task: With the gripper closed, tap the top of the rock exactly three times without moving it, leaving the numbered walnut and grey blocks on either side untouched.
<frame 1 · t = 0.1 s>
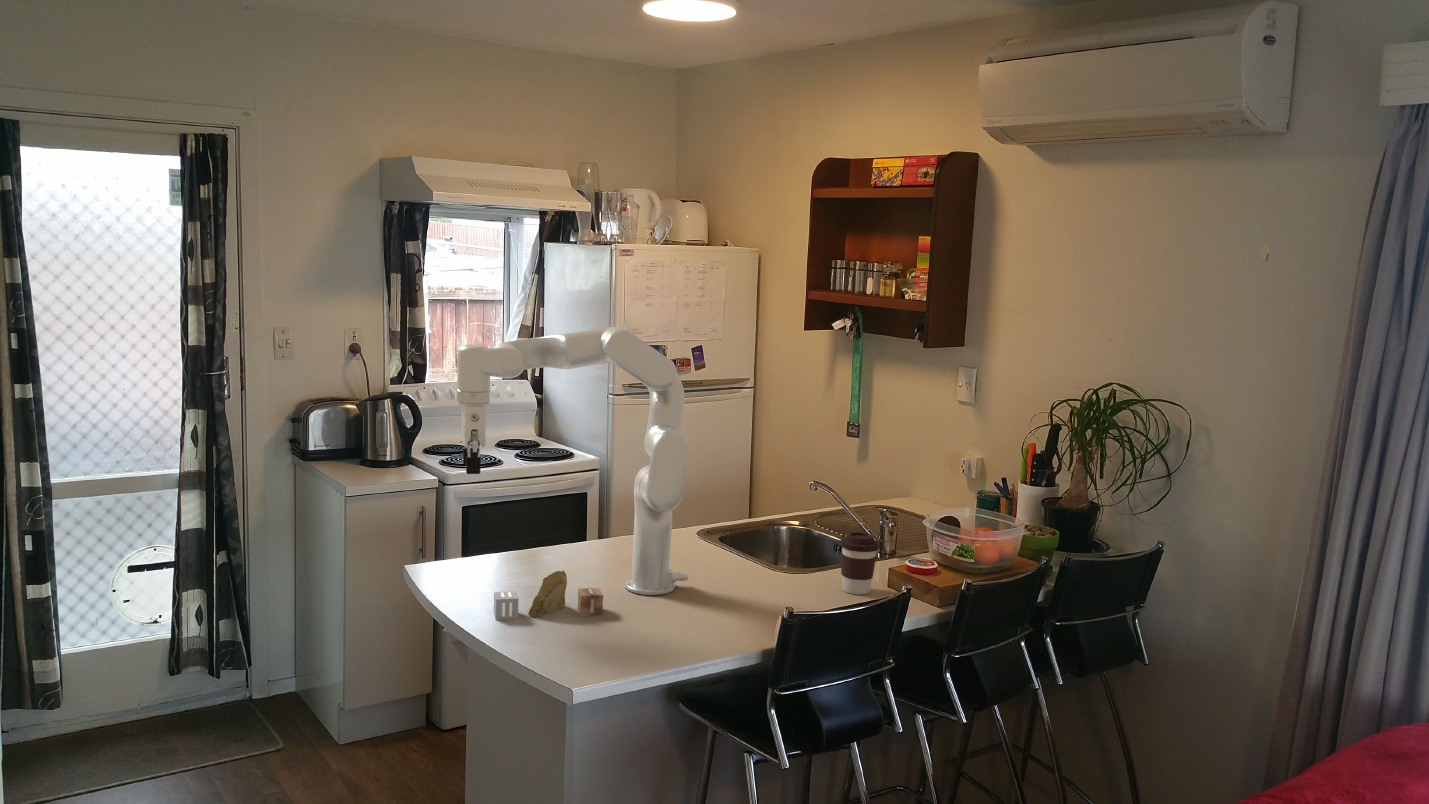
hand: (471, 469, 246), 31 cm above the countertop, tool pointing down, fingers open, 9 cm apart
grey block 11: (505, 616, 238), on the countertop
coffee cup: (855, 591, 270), on the countertop
rock: (546, 611, 243), on the countertop
walnut block 1: (589, 612, 244), on the countertop
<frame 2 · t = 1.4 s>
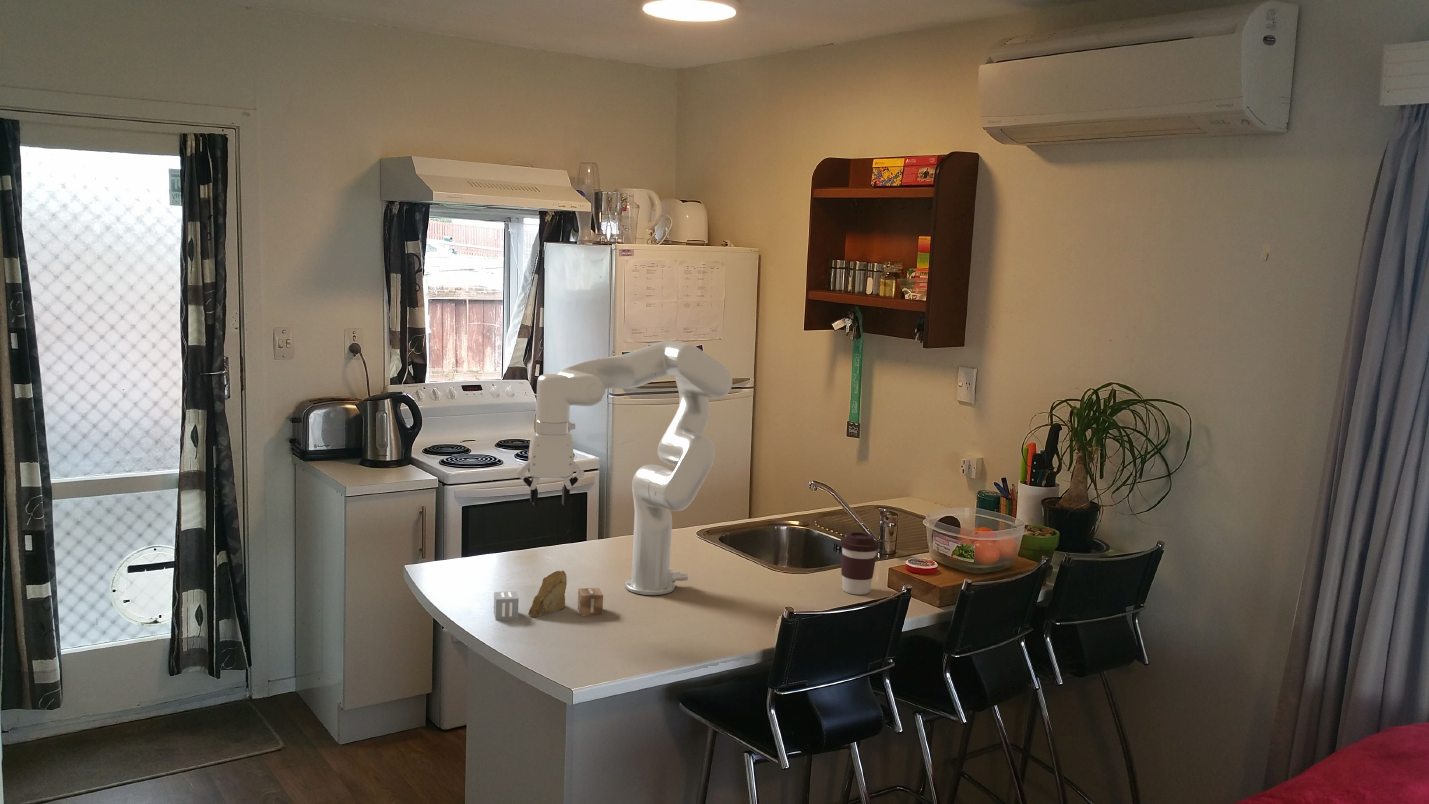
hand: (549, 504, 239), 26 cm above the countertop, tool pointing down, fingers open, 6 cm apart
nothing on the countertop moved.
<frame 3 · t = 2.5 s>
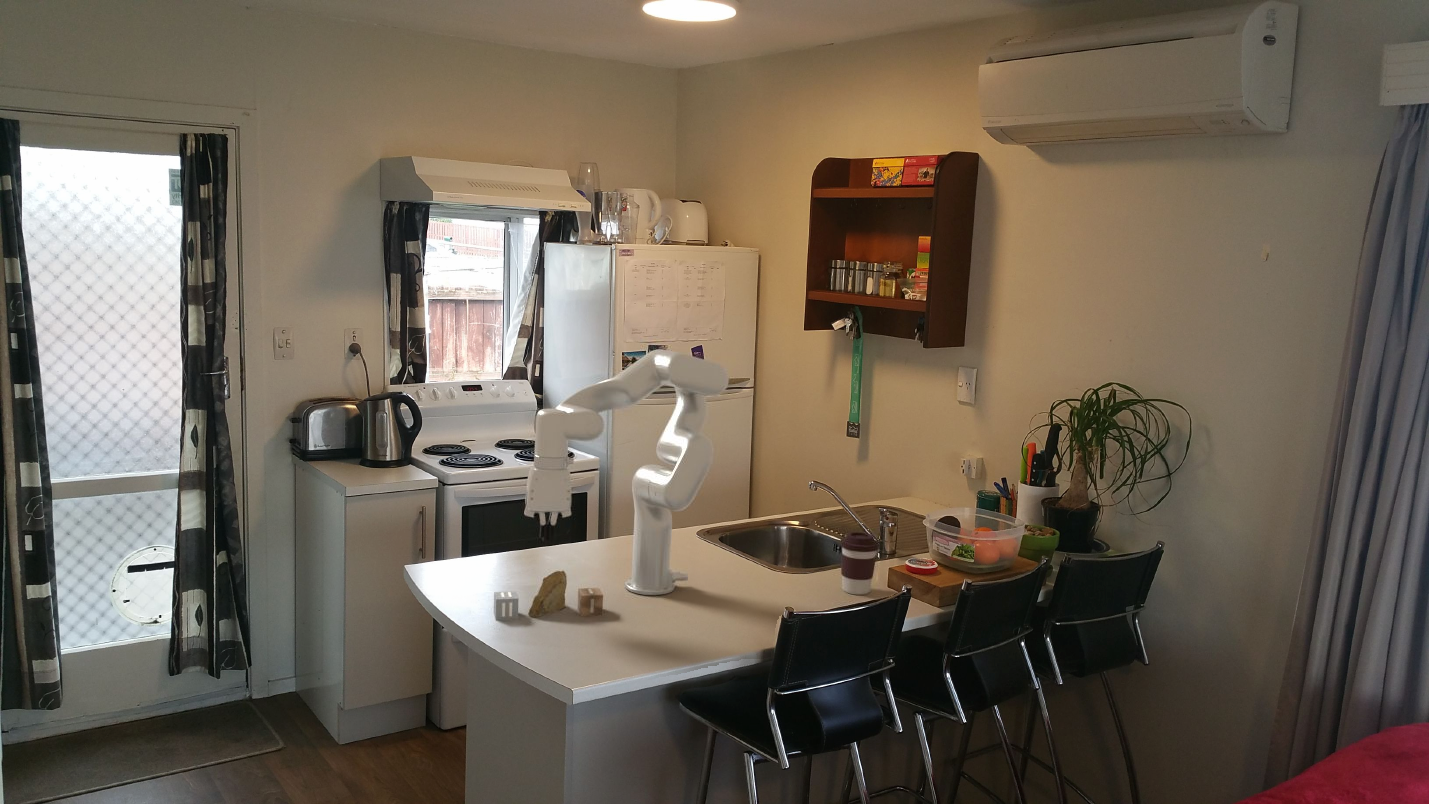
hand: (546, 540, 240), 17 cm above the countertop, tool pointing down, fingers closed
nothing on the countertop moved.
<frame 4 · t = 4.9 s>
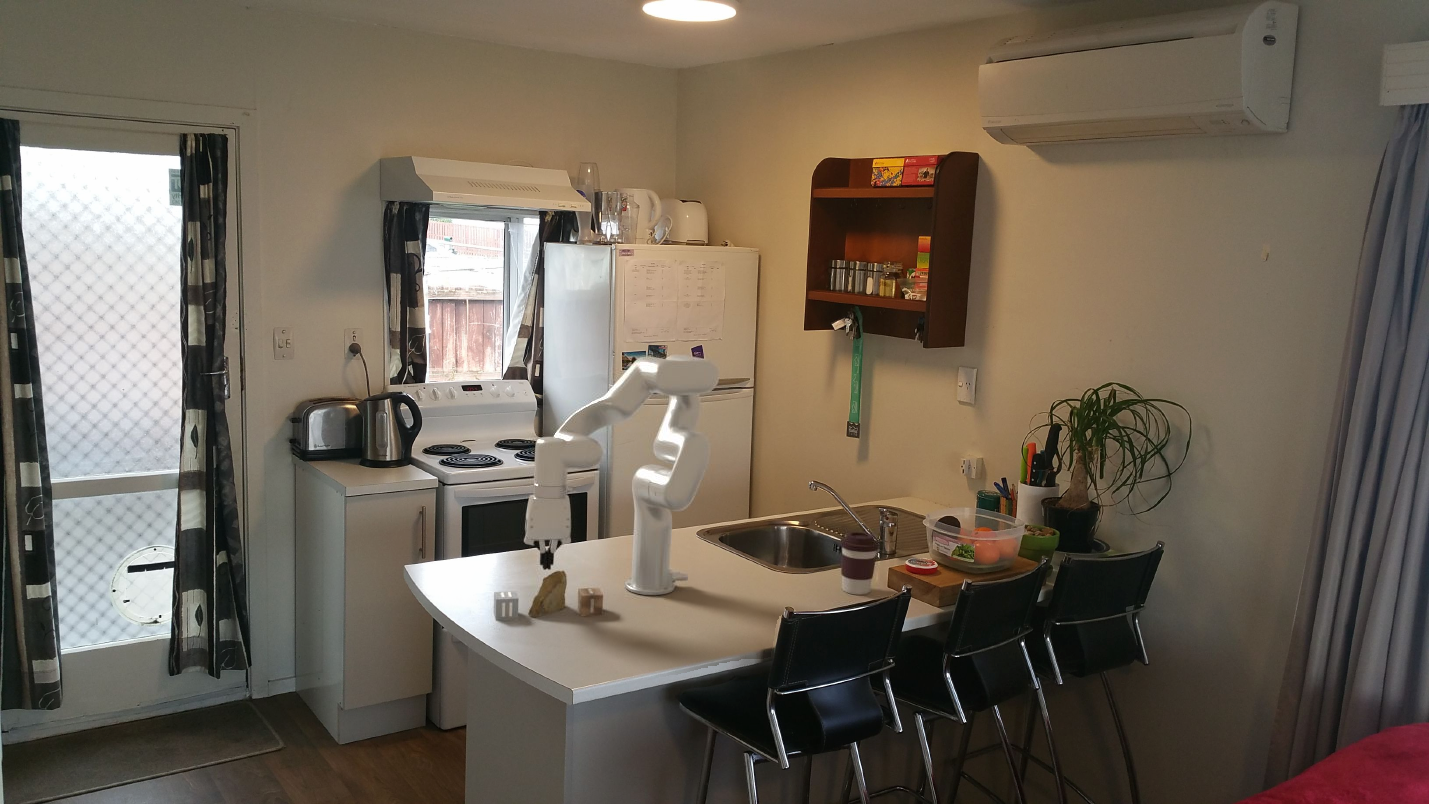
hand: (546, 567, 241), 10 cm above the countertop, tool pointing down, fingers closed
nothing on the countertop moved.
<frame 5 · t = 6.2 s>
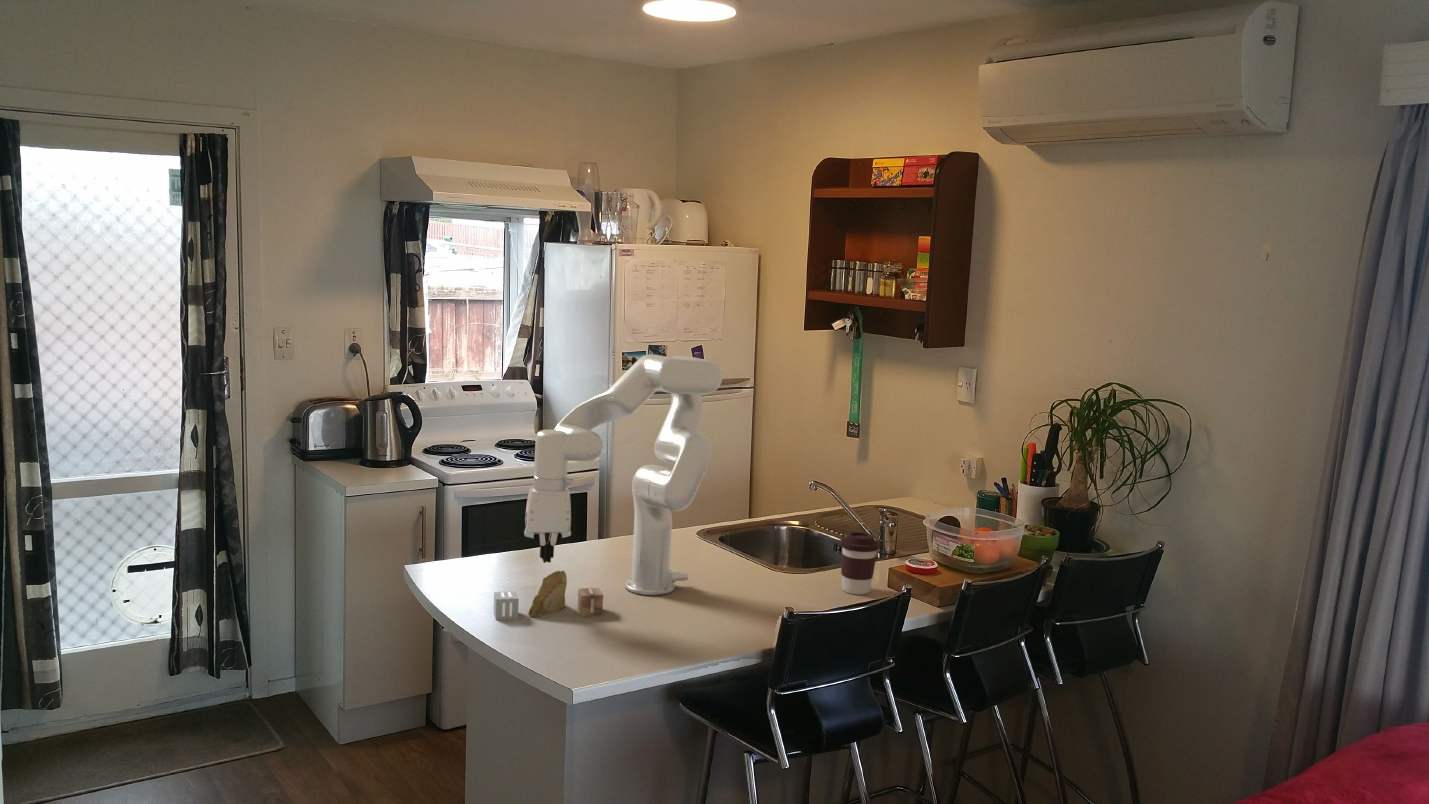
hand: (546, 560, 241), 12 cm above the countertop, tool pointing down, fingers closed
nothing on the countertop moved.
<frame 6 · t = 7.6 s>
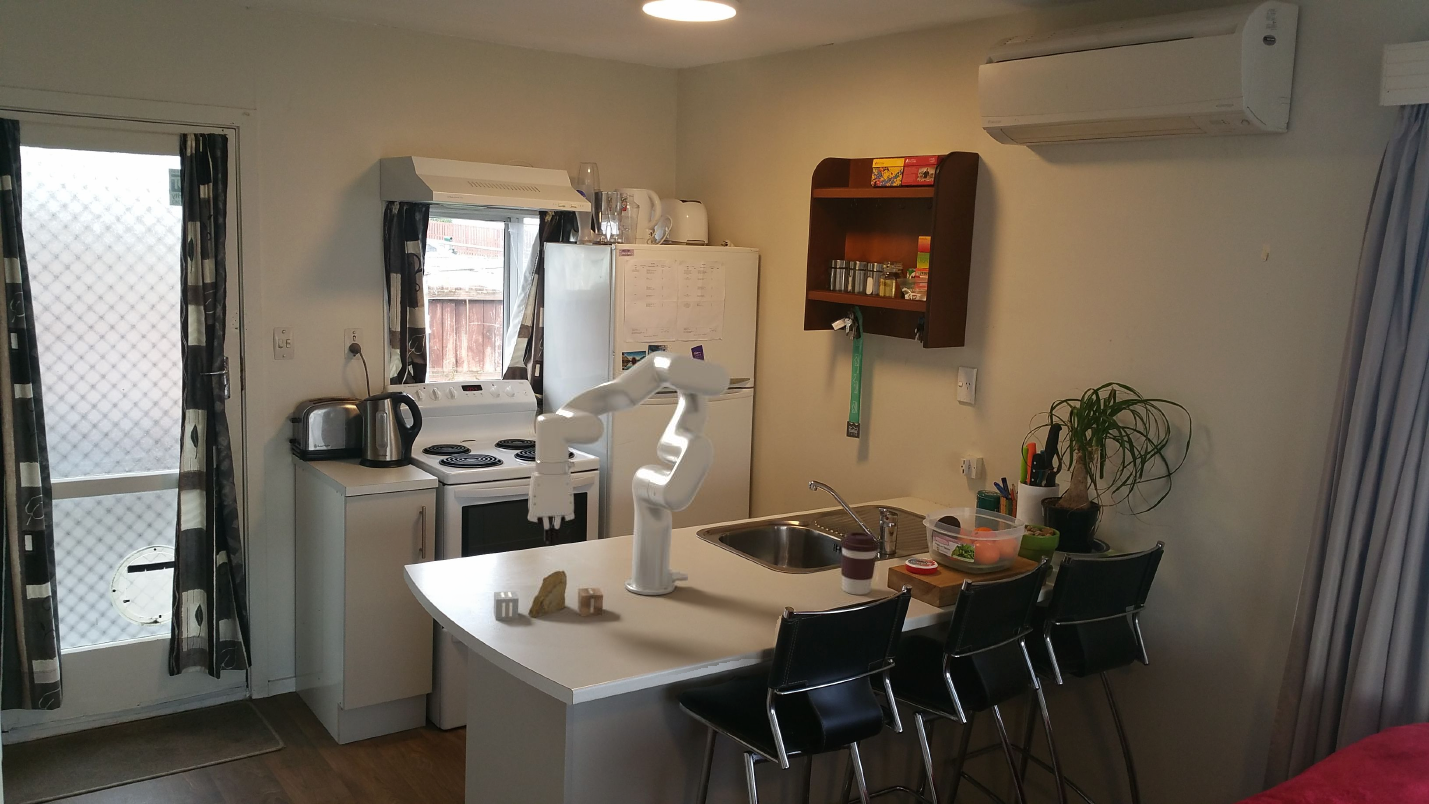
hand: (550, 543, 242), 16 cm above the countertop, tool pointing down, fingers closed
nothing on the countertop moved.
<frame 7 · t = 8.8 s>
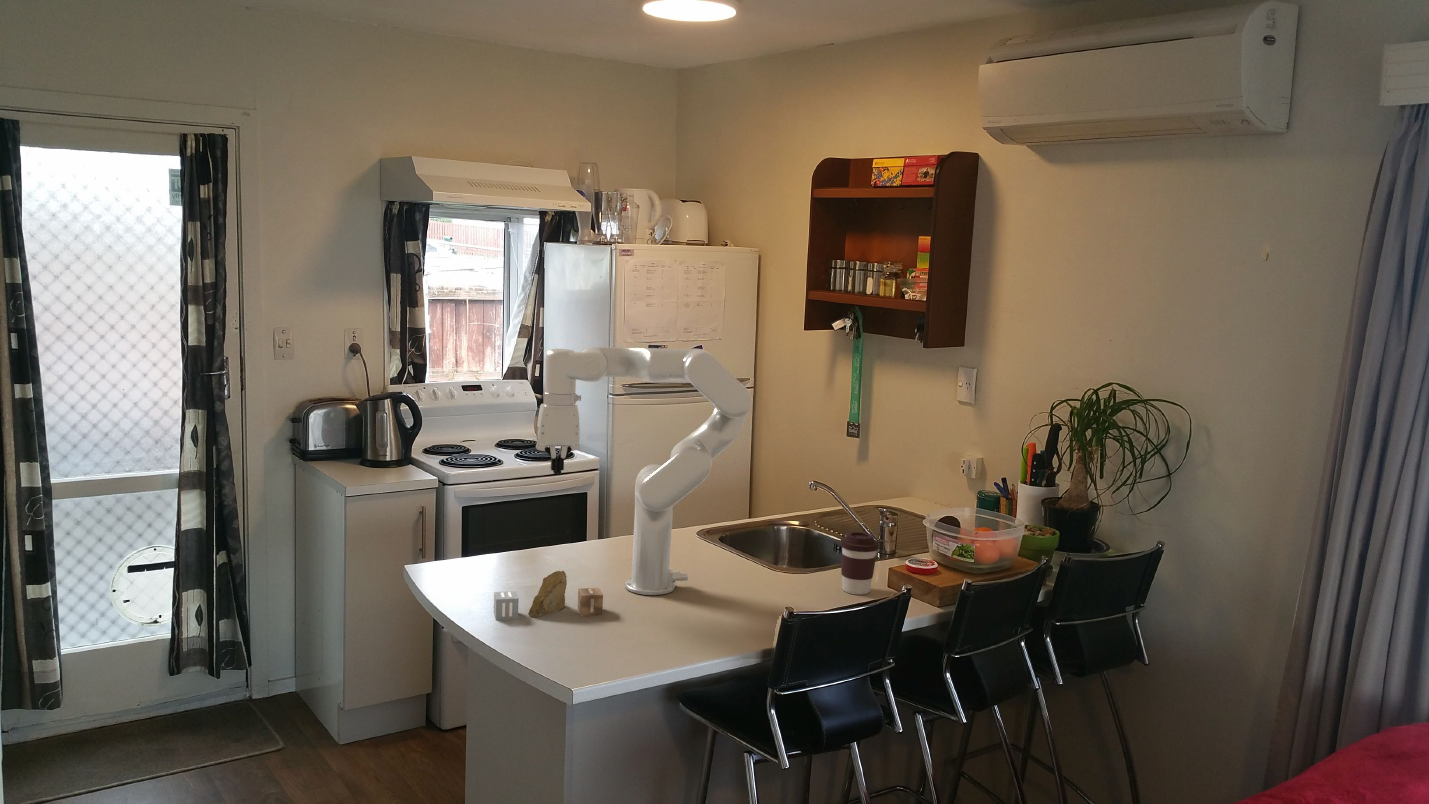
hand: (557, 473, 256), 29 cm above the countertop, tool pointing down, fingers closed
nothing on the countertop moved.
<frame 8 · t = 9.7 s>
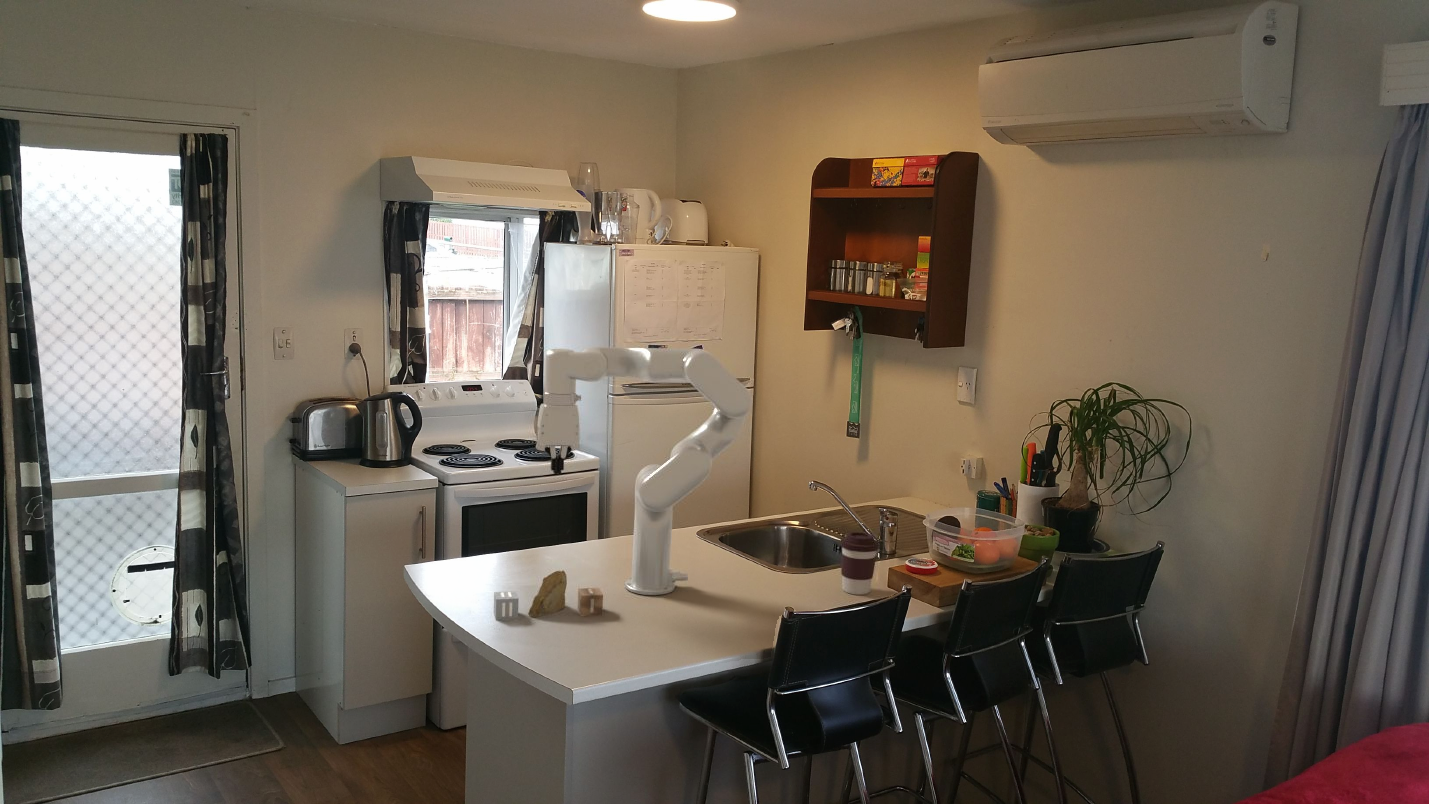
hand: (557, 473, 256), 29 cm above the countertop, tool pointing down, fingers closed
nothing on the countertop moved.
at the end: rock moved 0.3 cm from its start; rock tilted 0°; walnut block 1 moved 0.1 cm from its start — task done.
